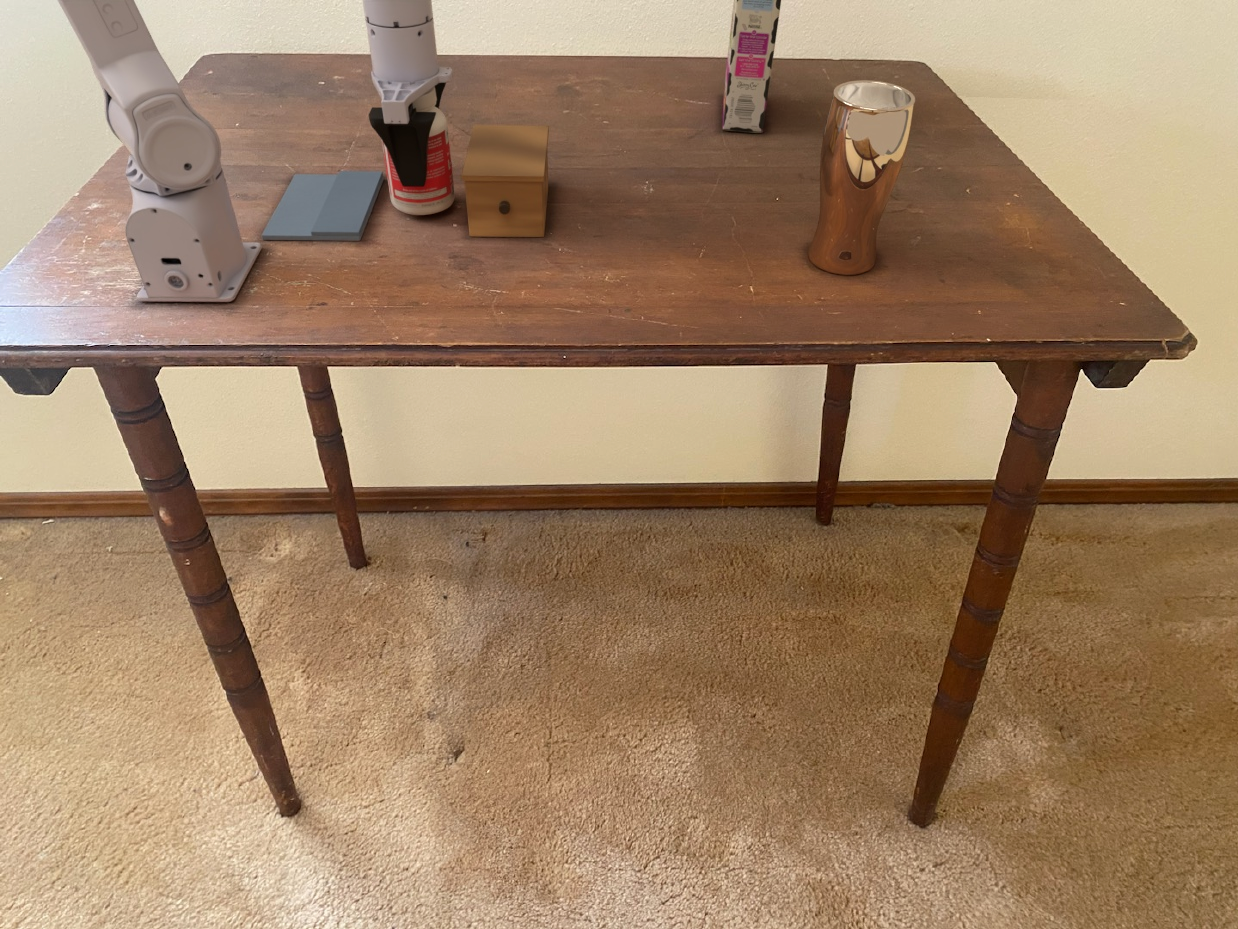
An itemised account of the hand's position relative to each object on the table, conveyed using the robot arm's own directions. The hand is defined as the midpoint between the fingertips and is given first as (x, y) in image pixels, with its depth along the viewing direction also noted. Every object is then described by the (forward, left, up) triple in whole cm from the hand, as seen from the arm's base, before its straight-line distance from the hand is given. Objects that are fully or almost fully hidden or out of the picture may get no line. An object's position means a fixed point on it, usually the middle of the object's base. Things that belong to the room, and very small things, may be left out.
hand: (418, 169), depth 89 cm
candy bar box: (+25, -34, -4) cm, 43 cm away
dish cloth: (0, +10, -4) cm, 10 cm away
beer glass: (-9, -39, -4) cm, 41 cm away
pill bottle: (0, 0, -4) cm, 4 cm away
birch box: (0, -8, -4) cm, 9 cm away
